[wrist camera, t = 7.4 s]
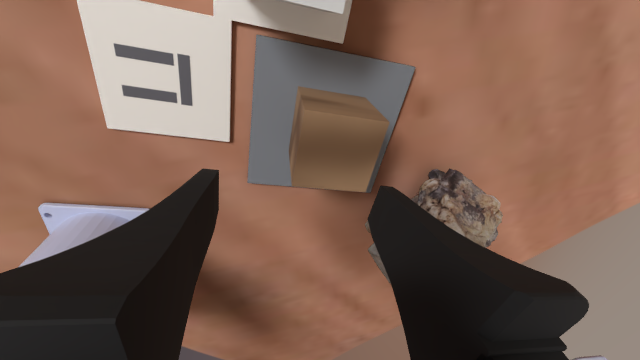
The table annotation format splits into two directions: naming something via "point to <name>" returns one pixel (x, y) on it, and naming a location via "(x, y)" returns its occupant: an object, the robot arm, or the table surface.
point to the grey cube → (320, 5)
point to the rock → (455, 208)
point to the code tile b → (286, 17)
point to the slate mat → (317, 73)
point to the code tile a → (160, 67)
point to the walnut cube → (334, 140)
